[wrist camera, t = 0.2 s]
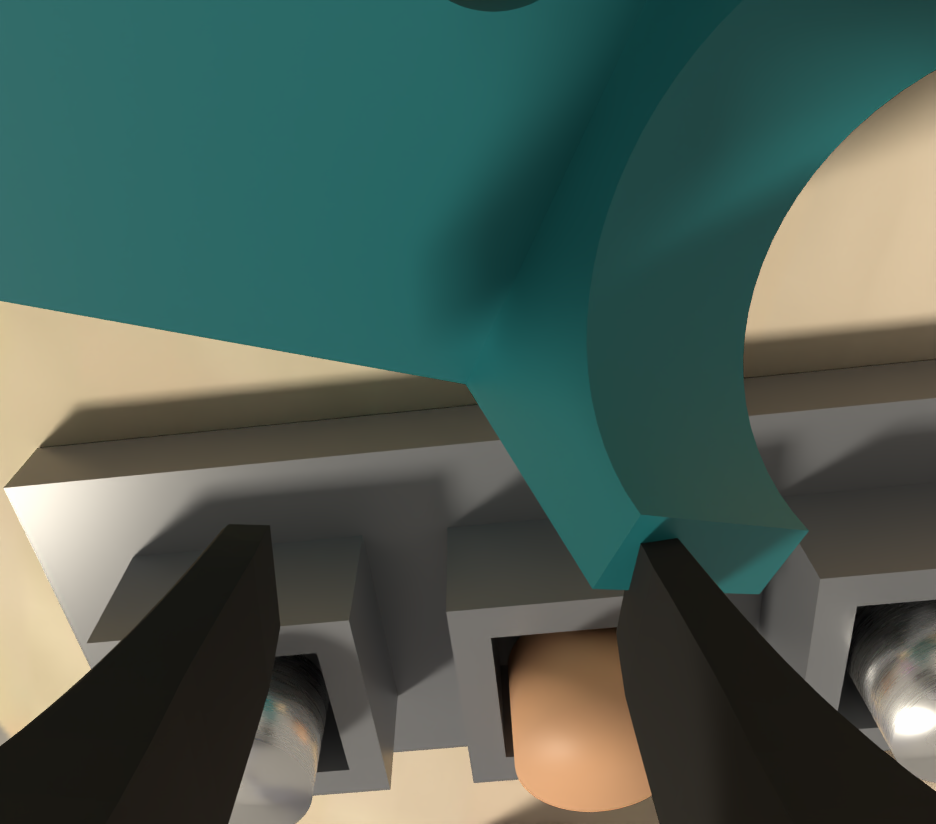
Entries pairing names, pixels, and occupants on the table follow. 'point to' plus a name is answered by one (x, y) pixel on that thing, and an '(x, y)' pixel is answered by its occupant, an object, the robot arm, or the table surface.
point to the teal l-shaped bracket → (461, 212)
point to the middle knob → (574, 722)
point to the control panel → (473, 550)
